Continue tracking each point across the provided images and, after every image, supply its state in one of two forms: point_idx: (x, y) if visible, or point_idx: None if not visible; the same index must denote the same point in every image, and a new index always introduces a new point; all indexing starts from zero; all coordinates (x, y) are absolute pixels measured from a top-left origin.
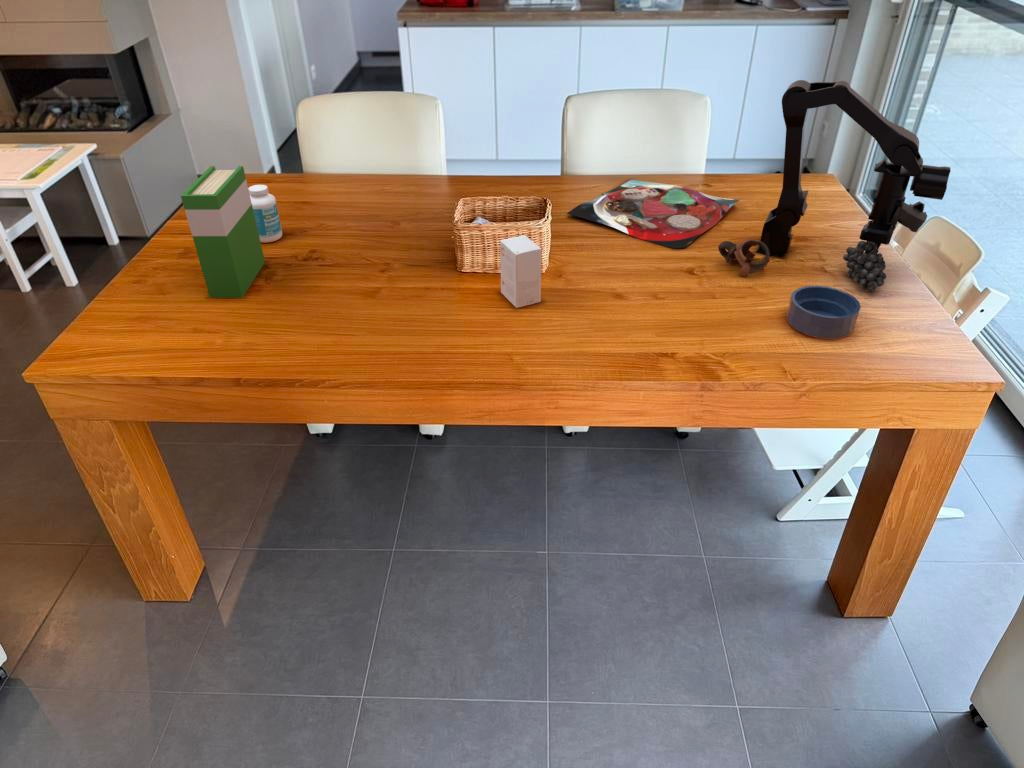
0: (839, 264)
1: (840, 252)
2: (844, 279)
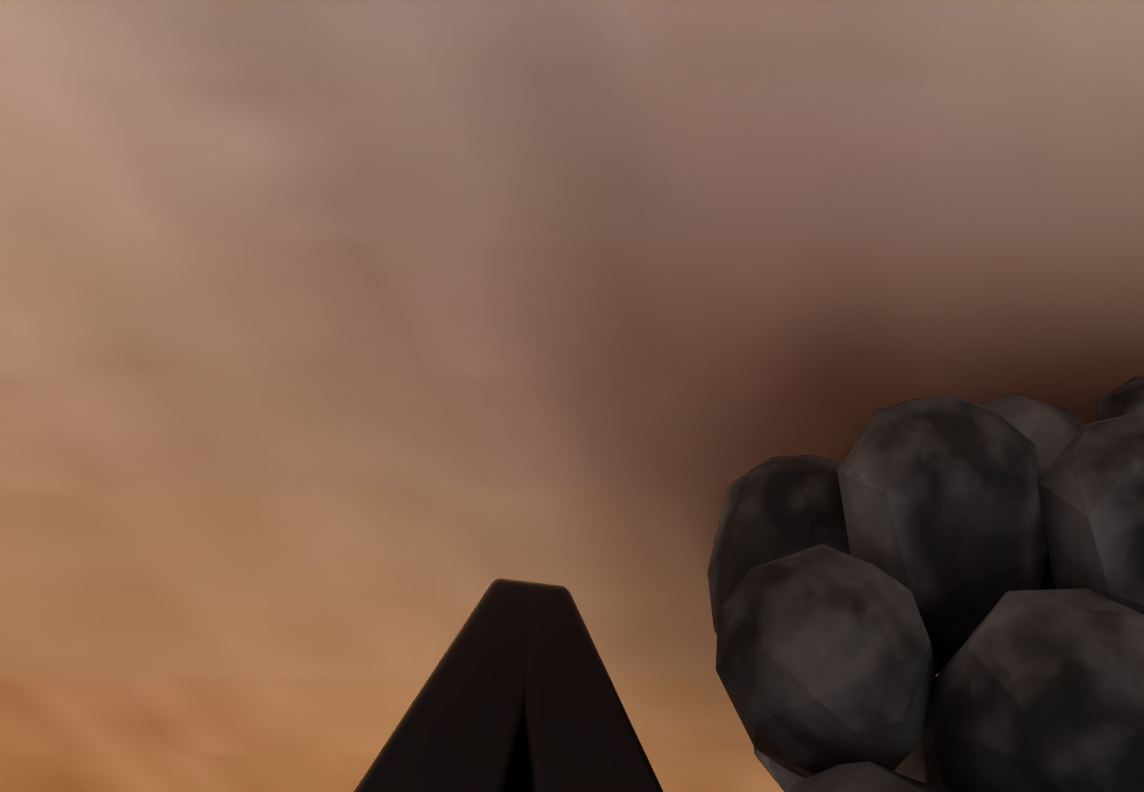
0: None
1: (169, 746)
2: None
